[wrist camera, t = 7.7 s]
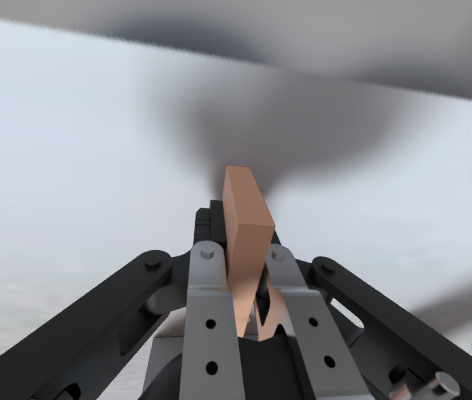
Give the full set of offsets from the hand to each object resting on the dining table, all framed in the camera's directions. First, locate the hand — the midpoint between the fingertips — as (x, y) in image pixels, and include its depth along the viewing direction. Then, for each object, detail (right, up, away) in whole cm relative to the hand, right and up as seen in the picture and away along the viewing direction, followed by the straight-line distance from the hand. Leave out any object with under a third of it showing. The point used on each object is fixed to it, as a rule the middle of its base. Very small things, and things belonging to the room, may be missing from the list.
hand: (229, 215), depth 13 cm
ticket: (-1, -6, +4) cm, 8 cm away
